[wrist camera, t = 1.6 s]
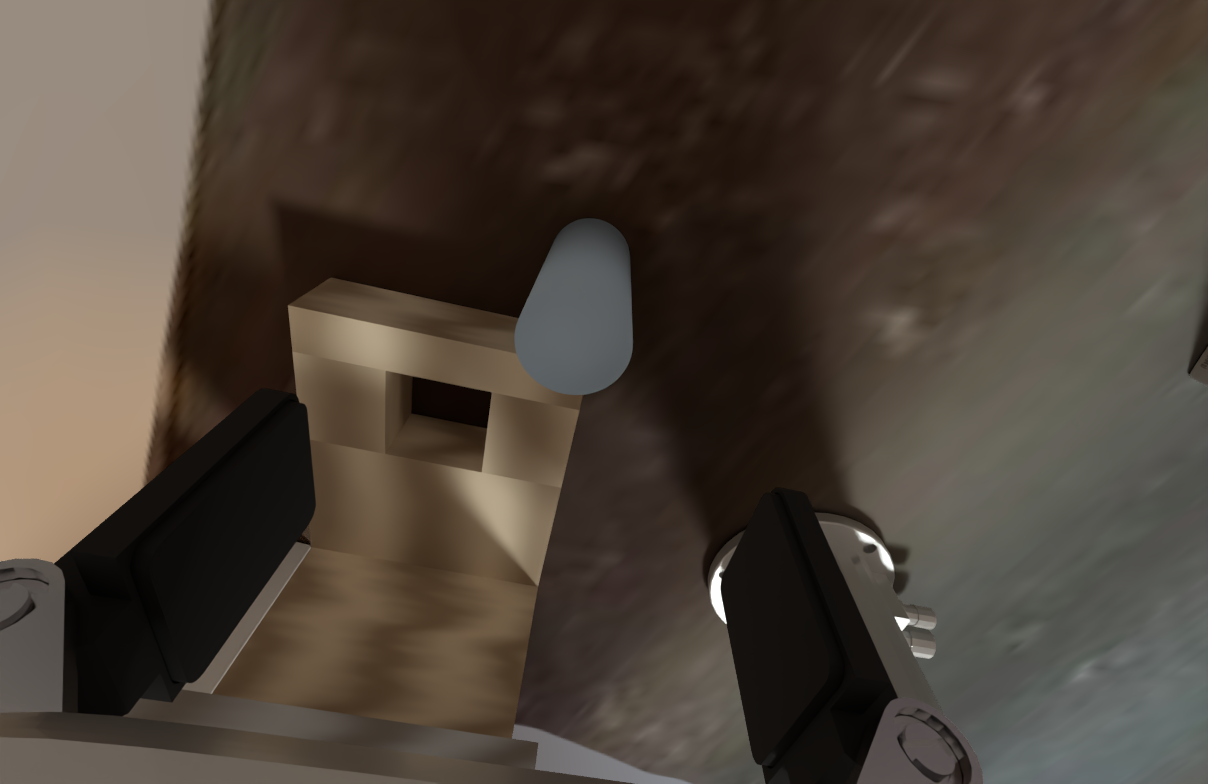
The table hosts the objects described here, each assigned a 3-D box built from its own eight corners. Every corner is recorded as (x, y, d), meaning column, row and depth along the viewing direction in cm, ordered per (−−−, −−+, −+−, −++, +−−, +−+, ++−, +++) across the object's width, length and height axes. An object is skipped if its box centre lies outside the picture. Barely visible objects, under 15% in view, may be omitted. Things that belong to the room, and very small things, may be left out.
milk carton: (209, 521, 36) (-130, 875, 20) (312, 543, 37) (68, 901, 21) (219, 585, 40) (-62, 931, 24) (313, 604, 41) (105, 952, 24)
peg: (638, 228, 25) (646, 302, 17) (619, 304, 27) (617, 405, 19) (558, 209, 25) (523, 274, 16) (544, 287, 27) (507, 382, 18)
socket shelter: (611, 338, 28) (599, 578, 14) (554, 565, 37) (513, 843, 24) (311, 273, 27) (-18, 468, 13) (328, 525, 36) (147, 795, 22)
